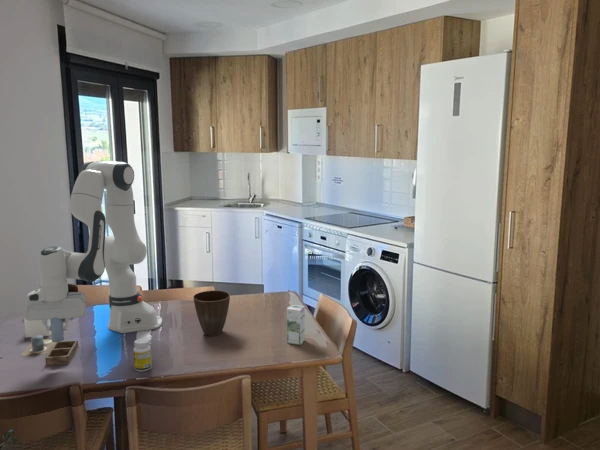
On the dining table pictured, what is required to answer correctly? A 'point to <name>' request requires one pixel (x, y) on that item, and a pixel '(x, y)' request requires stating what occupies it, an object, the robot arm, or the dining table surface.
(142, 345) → the supplement bottle
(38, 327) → the cover
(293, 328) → the syrup box
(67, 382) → the dining table surface
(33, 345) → the board
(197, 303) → the plant pot
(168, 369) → the dining table surface
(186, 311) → the dining table surface
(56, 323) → the peg
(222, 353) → the dining table surface
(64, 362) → the divided wooden tray
